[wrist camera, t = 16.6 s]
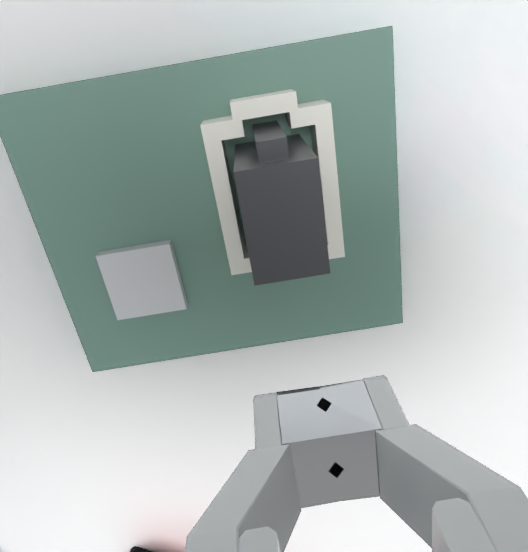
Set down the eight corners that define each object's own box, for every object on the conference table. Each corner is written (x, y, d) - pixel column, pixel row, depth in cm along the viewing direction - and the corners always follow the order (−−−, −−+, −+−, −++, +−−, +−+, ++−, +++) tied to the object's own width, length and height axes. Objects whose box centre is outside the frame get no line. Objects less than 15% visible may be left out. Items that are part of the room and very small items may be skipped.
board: (98, 360, 37) (82, 393, 33) (-3, 95, 28) (-39, 100, 25) (396, 313, 36) (413, 340, 32) (385, 27, 28) (406, 22, 24)
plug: (251, 233, 31) (254, 285, 24) (232, 127, 28) (229, 150, 21) (309, 224, 31) (330, 273, 24) (296, 116, 28) (315, 135, 21)
